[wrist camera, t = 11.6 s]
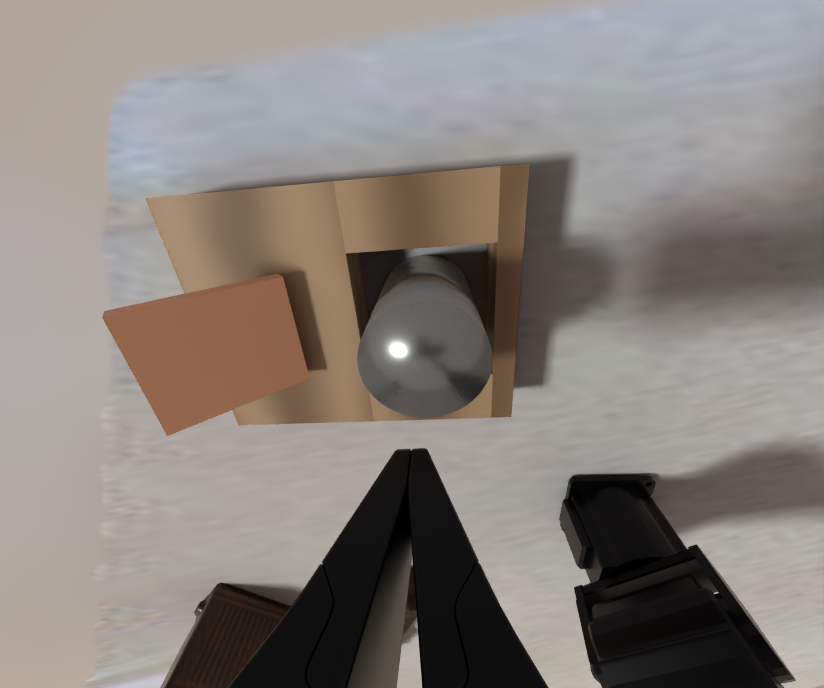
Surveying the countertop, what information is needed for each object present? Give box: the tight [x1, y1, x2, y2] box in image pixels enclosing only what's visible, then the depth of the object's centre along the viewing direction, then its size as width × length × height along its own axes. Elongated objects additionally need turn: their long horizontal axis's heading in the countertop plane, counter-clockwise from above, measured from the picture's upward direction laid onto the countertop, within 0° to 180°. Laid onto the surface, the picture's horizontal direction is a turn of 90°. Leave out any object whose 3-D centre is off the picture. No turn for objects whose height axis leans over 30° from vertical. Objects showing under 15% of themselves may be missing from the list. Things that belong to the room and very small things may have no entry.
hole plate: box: [145, 163, 530, 425], centre depth 19 cm, size 18×14×3 cm
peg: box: [357, 255, 492, 418], centre depth 17 cm, size 6×6×8 cm
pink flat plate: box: [102, 274, 310, 436], centre depth 16 cm, size 7×6×1 cm
